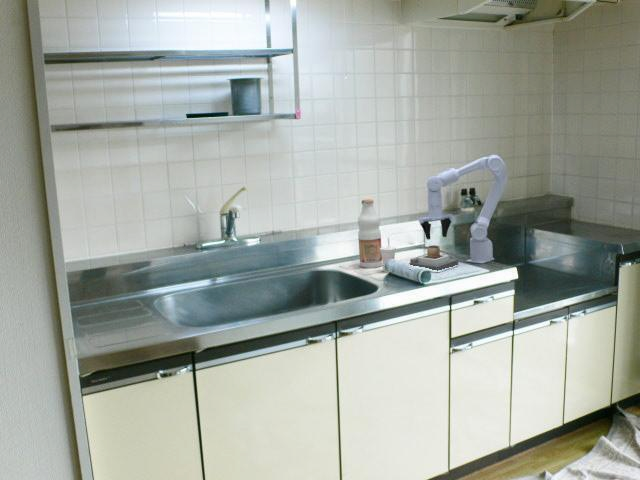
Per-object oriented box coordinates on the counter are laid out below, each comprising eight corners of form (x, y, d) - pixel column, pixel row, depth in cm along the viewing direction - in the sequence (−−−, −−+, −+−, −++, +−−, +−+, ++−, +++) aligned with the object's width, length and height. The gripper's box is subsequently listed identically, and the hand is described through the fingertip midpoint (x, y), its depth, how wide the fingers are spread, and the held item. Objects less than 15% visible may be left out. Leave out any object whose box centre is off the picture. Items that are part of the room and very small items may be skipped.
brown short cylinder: (432, 259, 282) (431, 244, 280) (442, 260, 278) (442, 245, 277) (425, 262, 278) (424, 247, 277) (435, 263, 275) (434, 248, 273)
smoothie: (391, 273, 273) (389, 239, 271) (378, 272, 277) (376, 238, 274) (399, 270, 278) (398, 236, 276) (386, 268, 282) (384, 235, 279)
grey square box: (430, 262, 288) (429, 251, 288) (458, 265, 278) (457, 254, 278) (409, 269, 279) (408, 258, 278) (437, 273, 269) (437, 261, 268)
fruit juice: (355, 266, 291) (351, 200, 286) (372, 262, 296) (368, 198, 291) (369, 269, 283) (365, 202, 278) (387, 265, 288) (383, 199, 283)
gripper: (424, 208, 276) (425, 241, 279) (455, 204, 281) (456, 237, 284) (415, 206, 283) (417, 239, 285) (446, 203, 288) (447, 234, 290)
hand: (436, 238), depth 285 cm, fingers open, 7 cm apart
